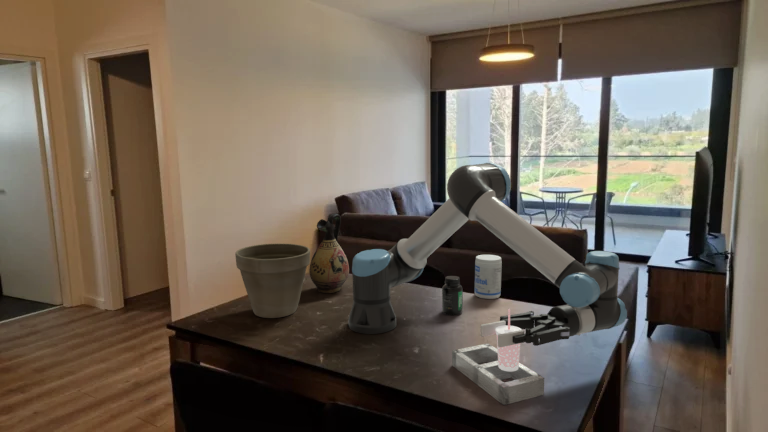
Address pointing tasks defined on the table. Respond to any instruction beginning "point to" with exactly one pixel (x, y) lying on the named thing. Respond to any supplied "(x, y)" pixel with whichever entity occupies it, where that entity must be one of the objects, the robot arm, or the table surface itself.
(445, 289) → the supplement bottle
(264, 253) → the plant pot
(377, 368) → the table surface
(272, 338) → the table surface
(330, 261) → the ceramic jug
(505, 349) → the beverage cup
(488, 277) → the supplement tub
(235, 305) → the table surface
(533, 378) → the grey hollow block
